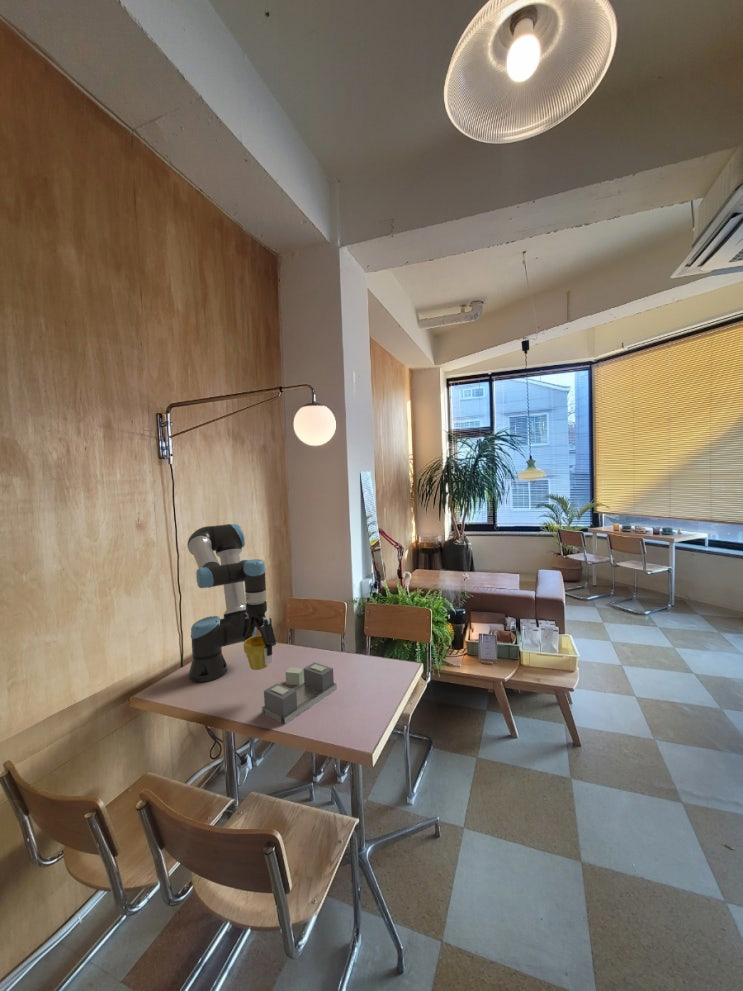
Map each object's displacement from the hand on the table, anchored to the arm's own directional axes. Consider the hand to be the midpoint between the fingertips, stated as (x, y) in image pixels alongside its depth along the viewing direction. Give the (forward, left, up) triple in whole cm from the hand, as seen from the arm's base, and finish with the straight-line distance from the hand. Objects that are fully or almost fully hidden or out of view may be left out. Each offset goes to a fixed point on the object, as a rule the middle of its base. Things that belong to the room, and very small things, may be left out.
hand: (259, 659), depth 147 cm
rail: (+14, +7, -15) cm, 22 cm away
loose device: (+2, +15, -15) cm, 21 cm away
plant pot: (0, 0, -3) cm, 3 cm away
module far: (+14, +16, -13) cm, 25 cm away
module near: (+14, -3, -13) cm, 19 cm away
